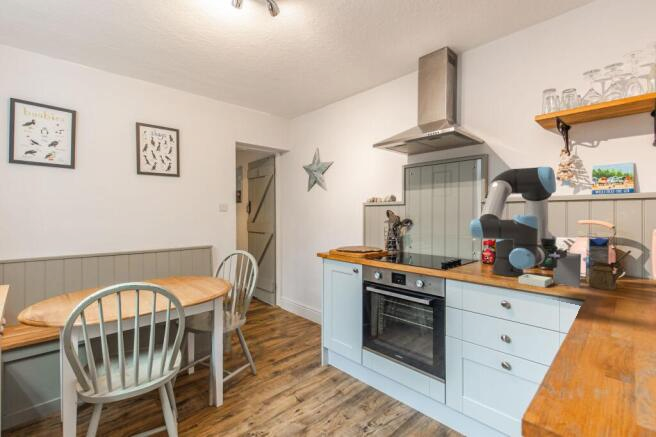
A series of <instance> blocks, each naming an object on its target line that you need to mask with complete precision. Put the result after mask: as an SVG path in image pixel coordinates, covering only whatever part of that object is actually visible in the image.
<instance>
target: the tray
mask: <svg viewBox="0 0 656 437" xmlns="http://www.w3.org/2000/svg"><path fill="white" fill-rule="evenodd" d="M518 284H521V285H522V284H523V285H525V286H526V285H527V286H533V287H540V288H547V287H548V285H549V286H551V285H553V277H549V276H542V275H538V274H537V275H536V274H529V273H526V274H525V273H524V275H522V276H519V277H518ZM550 284H551V285H550Z"/></svg>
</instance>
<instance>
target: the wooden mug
mask: <svg viewBox="0 0 656 437" xmlns="http://www.w3.org/2000/svg"><path fill="white" fill-rule="evenodd" d="M631 252H632V250H628V251H626V252H625V253H624V254H623V255H621V257H620V258H619V259H617V260H616V261H613V262H610V263H609V262H608V263H601V262H595V263H594V266H593V272H592V278H591V282H590V284H588V285H589V287H591V288H594V289H599V290H608V291H614V290H616V289H617V285H616V284H617V281H618V279H619V278H620V277H621V276H622V275H623V272H624V267H623V264H622V263H621V262H622V261H623V259H625V258H626V257H628V255H630V254H631ZM615 269H616V270H617V272H616V273H614V271H615Z"/></svg>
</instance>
